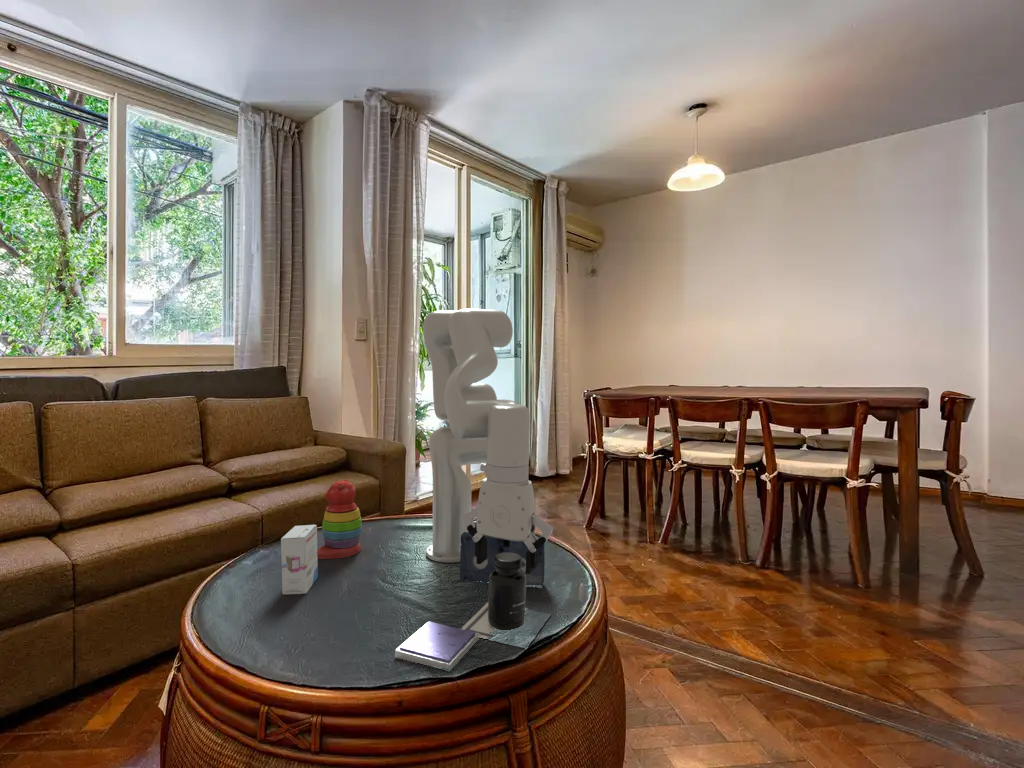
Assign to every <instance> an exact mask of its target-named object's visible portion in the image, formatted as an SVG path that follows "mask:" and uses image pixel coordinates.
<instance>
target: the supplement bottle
mask: <svg viewBox="0 0 1024 768" xmlns="http://www.w3.org/2000/svg"><path fill="white" fill-rule="evenodd" d="M494 567H495V569H494V570H493V571H492V572H491V573H490V575H489V583H488V601H487V603H488V621H489V623H490V625H491V626H492V627H494V628H496V629H499V630H511V629H515V628H518V627H520V626H522V625H523V624H524V622H525V614H526V609H527V603H526V601H527V587H526V575H525V573H524V572H523V571H522V570H521V556H520V555H518V554H515V553H508V552H507V553H500V554H497V555H496V556H495V563H494Z"/></svg>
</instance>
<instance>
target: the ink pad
mask: <svg viewBox="0 0 1024 768" xmlns="http://www.w3.org/2000/svg"><path fill="white" fill-rule="evenodd" d="M478 640H479V641H480V639H479V633H476V632H472V631H467V630H463V629H461V628H458V627H454V626H451V625H447V624H441V623H437V622H432V621H427V622H426V623H425V624H424V625H423V626H422V627H420V628H419V629H417V631H416V632H414V633H413V634H412V635H411V636H409V637H408V638H407V639H406V640H405V641H404V642H403V643H401V644H400V645H399V646H398V647H397V648H396V649H394V658H395V659H399V660H402V659H403V661H406V660H407V661H406V662H410V661H411V662H410V663H413V662H415V663H414V664H417V663H420V664H424V665H429V666H436V667H442V668H447V669H450V668H451V667H452V666H454V664H456V663H457V662H458V661H459V660H460V659H461V657H463V656H464V655H465V653H466V652H467V651H468V650H469V649H470V648H471V647H472V646H473V645H474V644H475V643H476V642H477V641H478ZM479 641H478V642H479ZM478 642H477V643H478ZM477 643H476V644H477ZM476 644H475V645H476ZM475 645H474V646H475ZM465 656H466V655H465ZM465 656H464V657H465ZM420 664H419V665H420ZM424 665H423V666H424Z"/></svg>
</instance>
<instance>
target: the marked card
mask: <svg viewBox="0 0 1024 768" xmlns="http://www.w3.org/2000/svg"><path fill="white" fill-rule="evenodd" d="M460 629H463V630H467V631H472V632H476V633H479V638H483V639H487V636H489V637H493V636H494V635H491V634H489V633H490V632H492V633H493V632H494V628H493V627H492V626H491V625H490V623H489V621H488V602H486V603H485V604H484V605H483V606H482V607H481V608H480V609H479V610H478V611H477V612H476V613H475V614H474V615H473V616H472V617H471V618H470V619H469V620H468V621H467V622H466V623H465V624H464V625H463V626H462V627H461V628H460ZM483 639H482V640H483Z"/></svg>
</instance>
